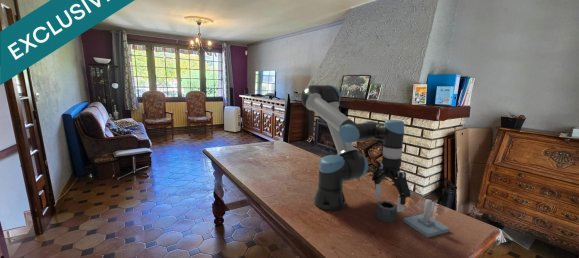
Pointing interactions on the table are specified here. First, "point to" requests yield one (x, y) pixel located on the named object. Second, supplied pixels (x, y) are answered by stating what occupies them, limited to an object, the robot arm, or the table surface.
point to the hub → (386, 211)
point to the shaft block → (426, 222)
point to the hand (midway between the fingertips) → (388, 203)
